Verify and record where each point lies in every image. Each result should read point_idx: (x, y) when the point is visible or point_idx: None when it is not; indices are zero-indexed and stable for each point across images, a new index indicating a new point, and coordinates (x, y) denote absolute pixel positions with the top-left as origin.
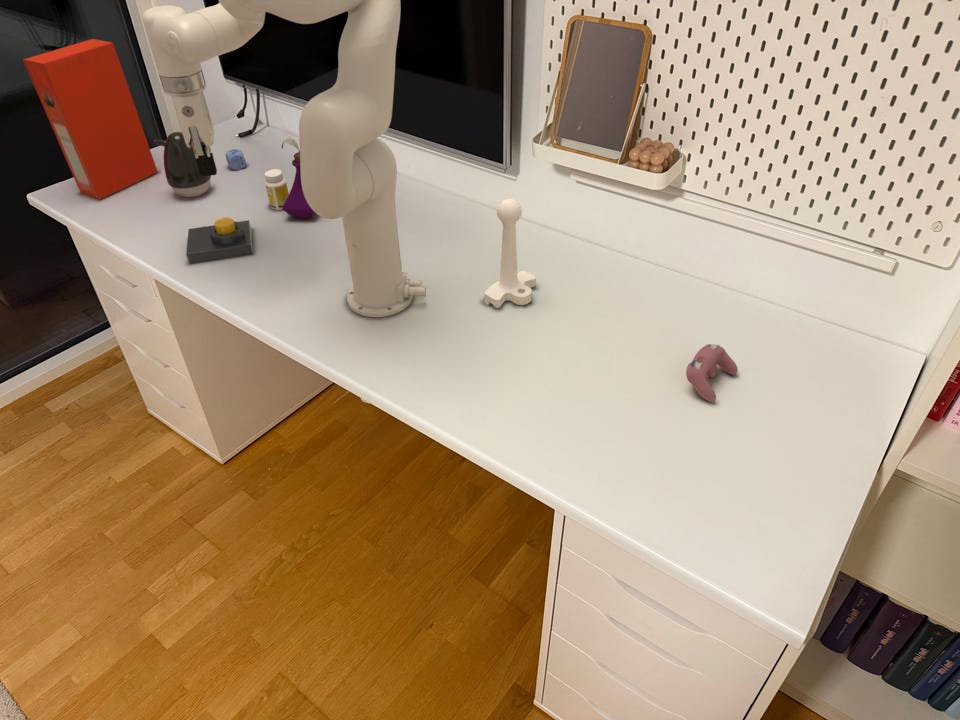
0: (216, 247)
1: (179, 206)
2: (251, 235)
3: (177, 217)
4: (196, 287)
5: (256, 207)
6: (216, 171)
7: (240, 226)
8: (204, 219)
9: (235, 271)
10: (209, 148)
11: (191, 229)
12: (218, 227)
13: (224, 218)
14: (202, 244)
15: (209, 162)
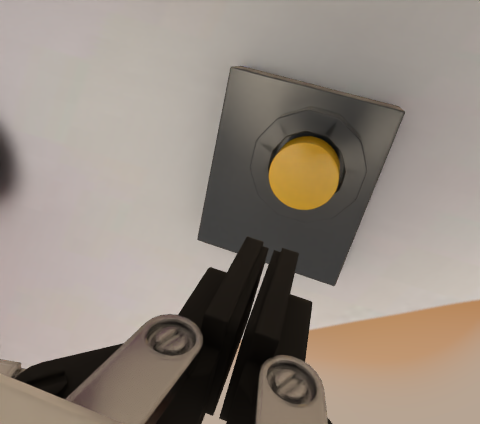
0: (351, 210)
1: (35, 202)
2: (289, 78)
3: (87, 222)
4: (468, 292)
5: (103, 9)
6: (286, 253)
7: (317, 120)
8: (120, 170)
9: (464, 184)
10: (193, 362)
11: (204, 234)
12: (324, 202)
13: (276, 167)
14: (307, 237)
15: (281, 331)
